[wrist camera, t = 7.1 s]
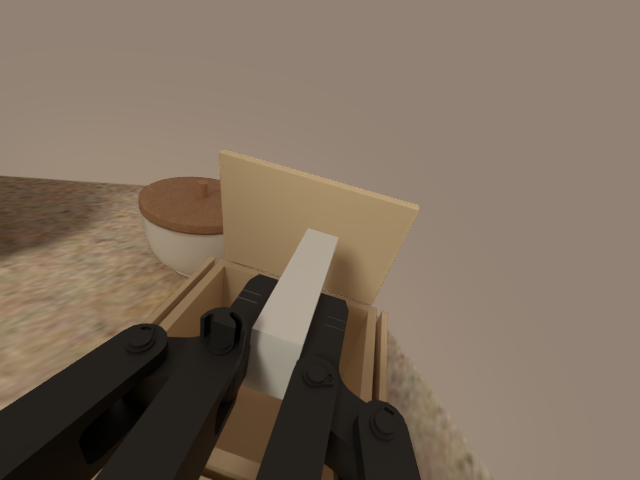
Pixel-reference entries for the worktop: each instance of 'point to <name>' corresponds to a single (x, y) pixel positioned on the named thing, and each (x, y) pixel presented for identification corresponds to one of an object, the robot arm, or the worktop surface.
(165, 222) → the lidded jar
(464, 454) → the worktop surface
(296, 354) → the robot arm
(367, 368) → the carton
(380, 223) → the flap
